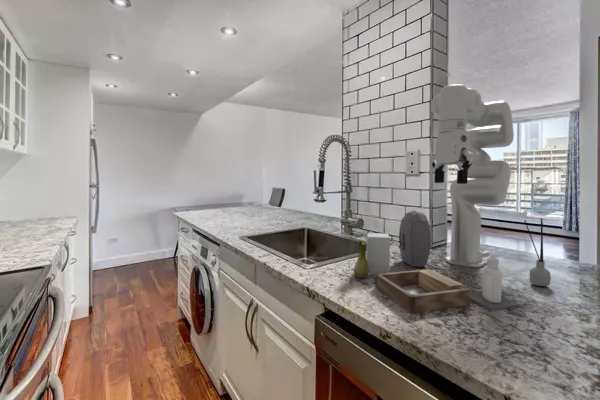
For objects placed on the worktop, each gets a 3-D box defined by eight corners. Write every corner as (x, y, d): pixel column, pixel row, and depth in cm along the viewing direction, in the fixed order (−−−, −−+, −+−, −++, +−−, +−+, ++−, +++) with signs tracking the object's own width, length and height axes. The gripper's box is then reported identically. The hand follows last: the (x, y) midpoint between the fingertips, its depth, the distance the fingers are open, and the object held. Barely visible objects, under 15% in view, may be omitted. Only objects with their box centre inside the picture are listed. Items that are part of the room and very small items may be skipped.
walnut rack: (425, 281, 93) (426, 269, 92) (470, 305, 76) (470, 289, 76) (375, 287, 88) (375, 274, 88) (410, 313, 72) (410, 297, 72)
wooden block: (430, 284, 91) (430, 269, 90) (463, 301, 78) (464, 284, 78) (417, 285, 90) (417, 270, 89) (449, 303, 77) (449, 286, 77)
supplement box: (389, 275, 99) (390, 237, 98) (366, 274, 101) (367, 236, 99) (387, 268, 106) (388, 233, 105) (366, 267, 108) (366, 232, 107)
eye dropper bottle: (480, 300, 77) (482, 255, 76) (482, 293, 82) (484, 250, 81) (500, 305, 75) (502, 257, 74) (502, 297, 79) (504, 252, 78)
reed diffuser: (550, 292, 84) (555, 221, 82) (520, 287, 88) (523, 219, 86) (549, 282, 92) (553, 217, 90) (521, 277, 96) (524, 215, 94)
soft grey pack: (432, 270, 104) (433, 212, 102) (408, 270, 103) (409, 213, 102) (413, 258, 119) (414, 208, 117) (392, 258, 119) (393, 208, 117)
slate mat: (489, 292, 84) (489, 290, 84) (520, 306, 75) (520, 304, 75) (462, 296, 82) (462, 294, 82) (490, 310, 73) (491, 308, 73)
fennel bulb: (366, 281, 94) (366, 243, 93) (351, 278, 96) (351, 241, 95) (371, 275, 99) (371, 239, 98) (356, 273, 101) (356, 238, 100)
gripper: (485, 123, 85) (483, 183, 86) (442, 131, 102) (440, 182, 103) (463, 122, 83) (461, 184, 84) (423, 131, 100) (421, 182, 101)
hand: (450, 183), depth 94 cm, fingers open, 9 cm apart
